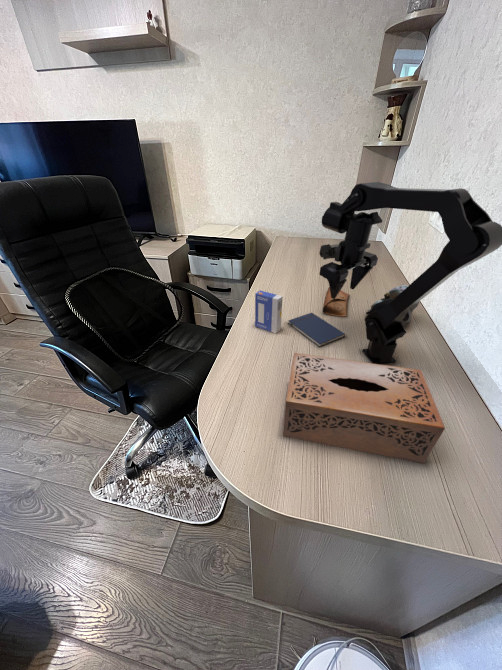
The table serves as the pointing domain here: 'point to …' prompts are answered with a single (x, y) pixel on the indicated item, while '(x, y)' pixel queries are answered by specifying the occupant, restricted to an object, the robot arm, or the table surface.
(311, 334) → the notebook
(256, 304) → the walkman
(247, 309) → the table surface
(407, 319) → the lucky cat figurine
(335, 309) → the sunglasses case
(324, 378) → the tissue box cover
